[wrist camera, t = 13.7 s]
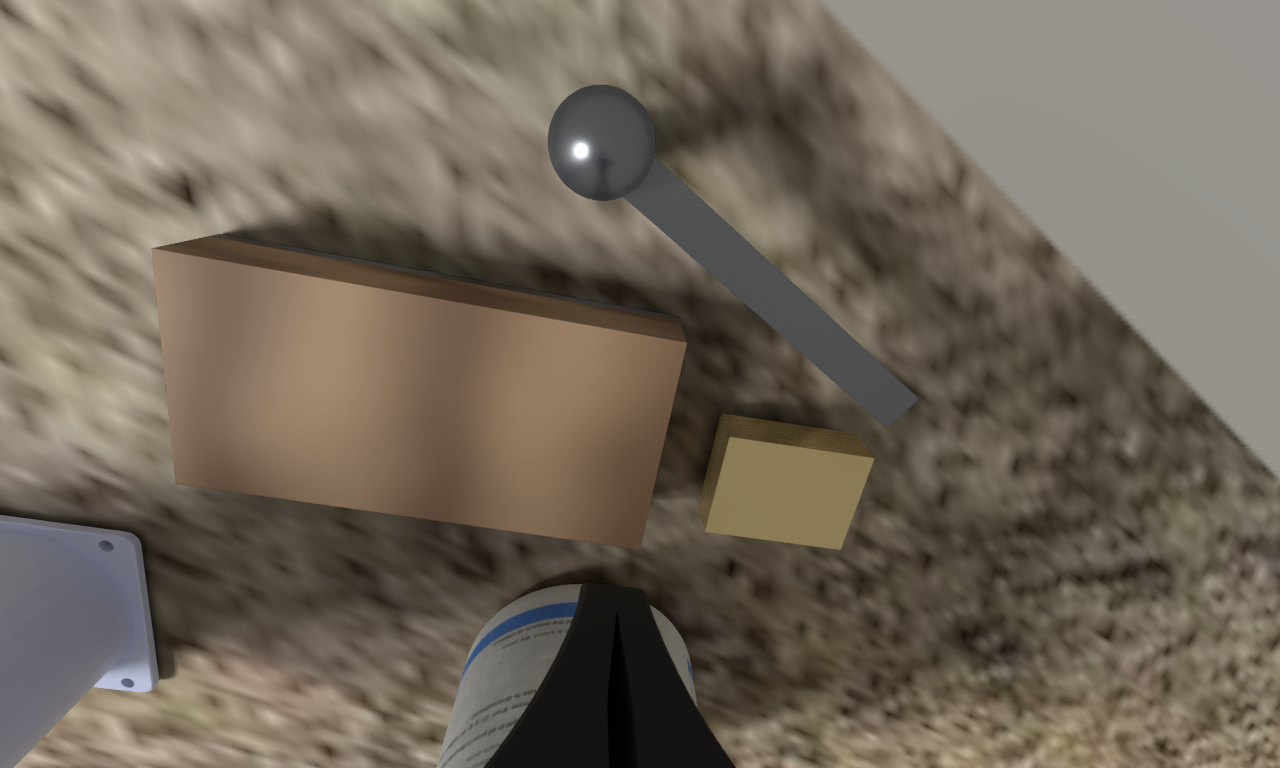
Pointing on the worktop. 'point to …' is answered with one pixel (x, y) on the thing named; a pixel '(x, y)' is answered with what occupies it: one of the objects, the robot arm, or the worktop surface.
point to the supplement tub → (521, 671)
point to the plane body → (412, 390)
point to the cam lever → (706, 237)
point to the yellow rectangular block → (783, 482)
